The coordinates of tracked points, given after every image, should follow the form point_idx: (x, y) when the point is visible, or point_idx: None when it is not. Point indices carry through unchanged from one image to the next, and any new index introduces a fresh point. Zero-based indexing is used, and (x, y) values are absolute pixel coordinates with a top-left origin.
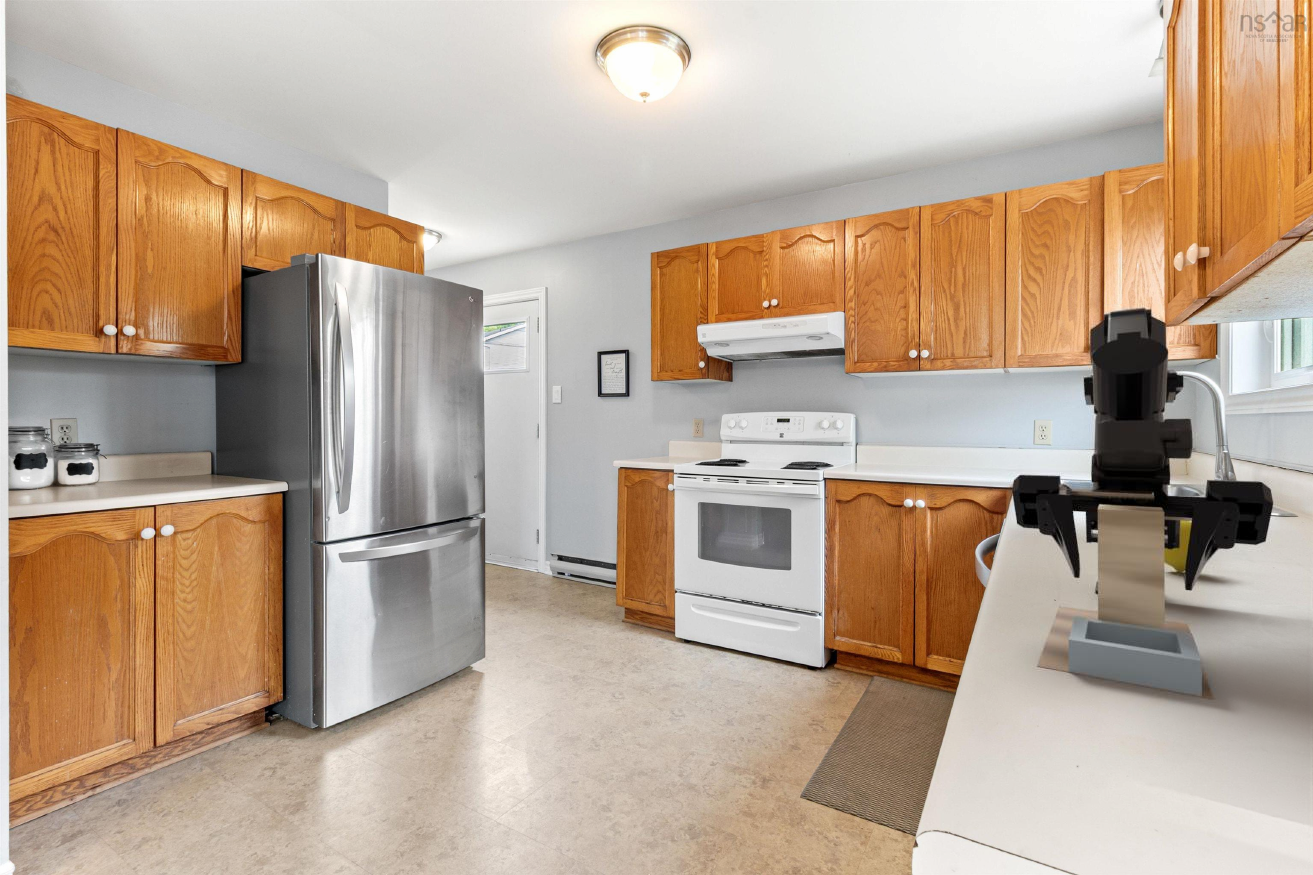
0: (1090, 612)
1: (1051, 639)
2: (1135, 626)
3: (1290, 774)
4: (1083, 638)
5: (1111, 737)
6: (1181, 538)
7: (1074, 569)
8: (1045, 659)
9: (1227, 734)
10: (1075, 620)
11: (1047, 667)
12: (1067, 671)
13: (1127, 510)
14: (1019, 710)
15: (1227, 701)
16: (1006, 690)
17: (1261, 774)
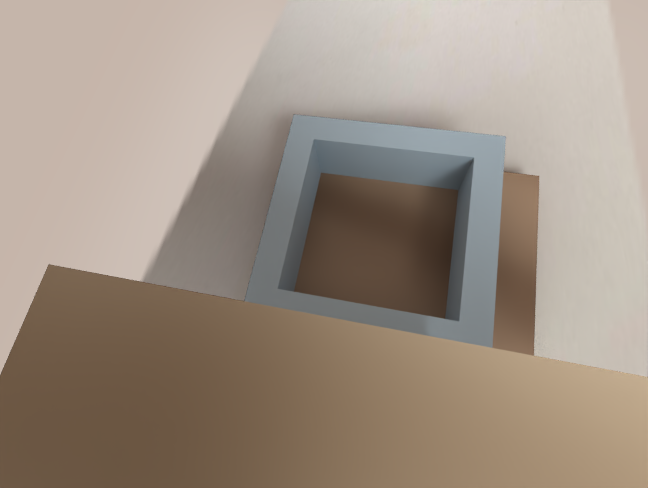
0: None
1: None
2: (352, 318)
3: (280, 31)
4: (476, 156)
5: (435, 31)
6: None
7: None
8: (527, 221)
9: (302, 99)
10: (490, 312)
11: (520, 178)
12: None
13: (343, 322)
14: (542, 54)
15: (256, 221)
16: (569, 114)
17: (307, 19)
